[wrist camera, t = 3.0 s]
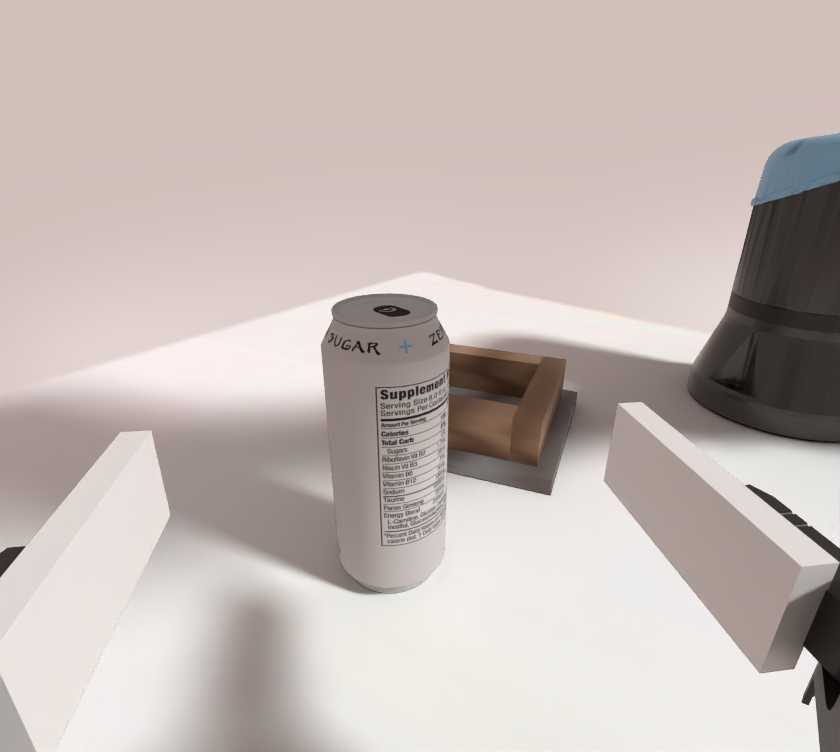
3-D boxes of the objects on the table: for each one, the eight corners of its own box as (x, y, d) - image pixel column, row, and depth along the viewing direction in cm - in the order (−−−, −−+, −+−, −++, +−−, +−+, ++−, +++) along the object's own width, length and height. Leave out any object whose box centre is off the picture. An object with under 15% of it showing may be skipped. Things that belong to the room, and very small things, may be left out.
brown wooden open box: (575, 403, 47) (582, 356, 45) (550, 495, 35) (557, 435, 33) (426, 379, 52) (426, 336, 51) (357, 450, 40) (353, 397, 38)
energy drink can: (400, 511, 33) (395, 284, 27) (466, 563, 29) (478, 308, 23) (319, 555, 29) (293, 305, 23) (382, 622, 25) (369, 337, 19)
